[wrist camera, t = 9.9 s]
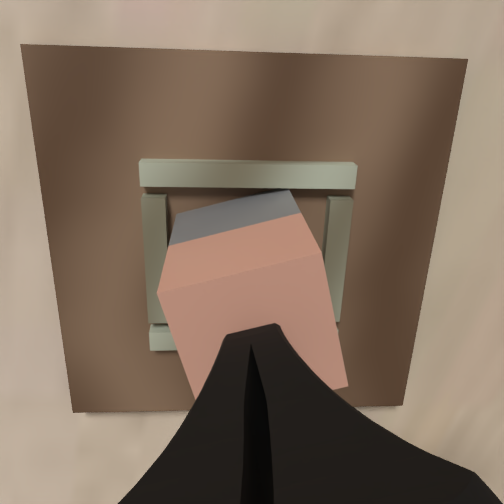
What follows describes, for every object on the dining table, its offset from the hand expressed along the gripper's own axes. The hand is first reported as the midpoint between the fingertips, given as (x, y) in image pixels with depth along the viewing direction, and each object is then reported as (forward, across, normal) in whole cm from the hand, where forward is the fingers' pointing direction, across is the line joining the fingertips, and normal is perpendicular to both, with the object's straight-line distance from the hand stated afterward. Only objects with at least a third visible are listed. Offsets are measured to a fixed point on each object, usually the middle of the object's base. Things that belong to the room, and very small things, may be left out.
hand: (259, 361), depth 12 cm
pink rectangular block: (+6, 0, 0) cm, 6 cm away
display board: (+7, 0, 0) cm, 7 cm away
